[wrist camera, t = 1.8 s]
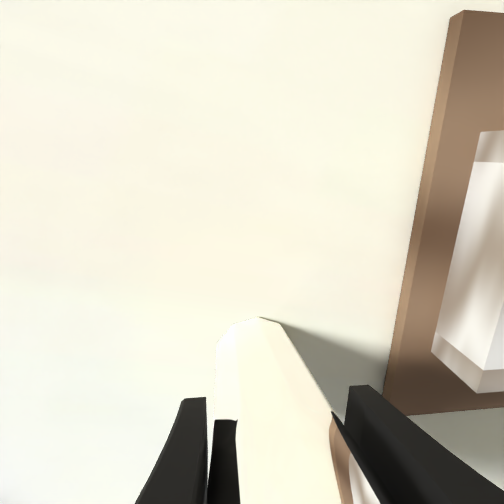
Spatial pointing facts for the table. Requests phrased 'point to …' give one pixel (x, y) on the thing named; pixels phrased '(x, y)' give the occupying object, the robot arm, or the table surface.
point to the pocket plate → (457, 238)
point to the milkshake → (280, 429)
